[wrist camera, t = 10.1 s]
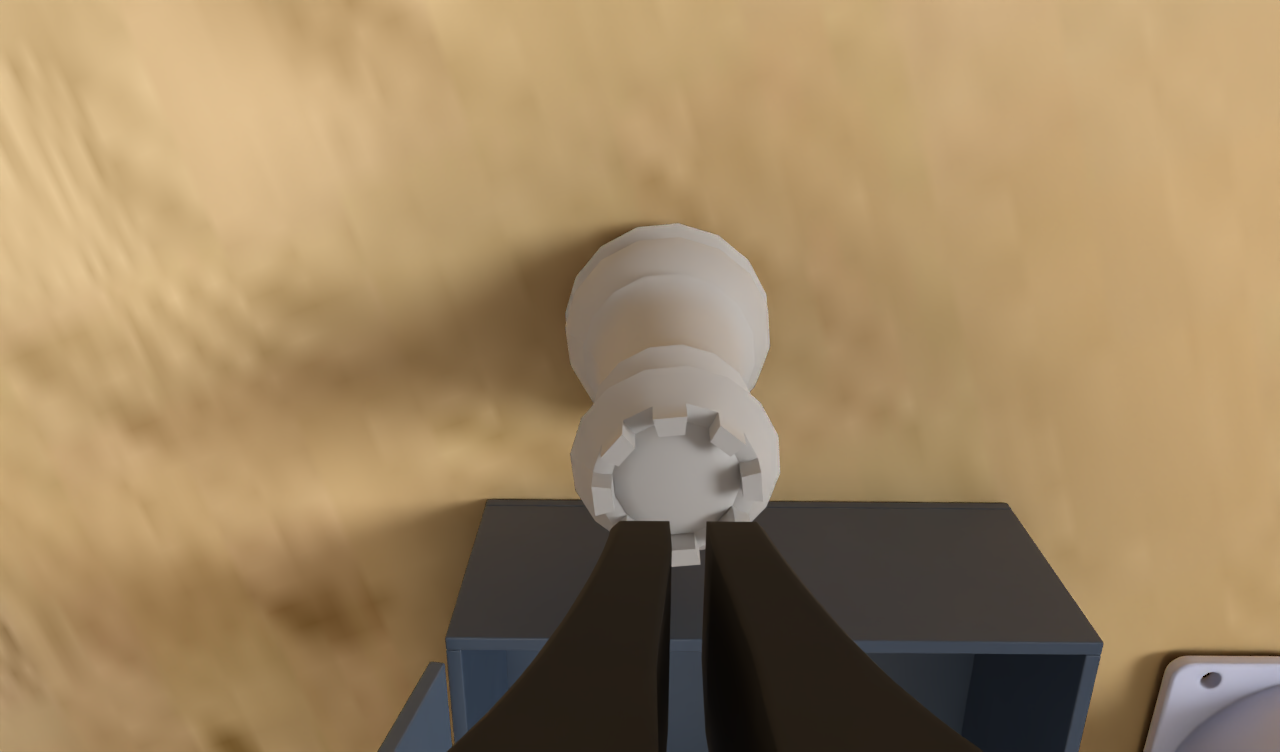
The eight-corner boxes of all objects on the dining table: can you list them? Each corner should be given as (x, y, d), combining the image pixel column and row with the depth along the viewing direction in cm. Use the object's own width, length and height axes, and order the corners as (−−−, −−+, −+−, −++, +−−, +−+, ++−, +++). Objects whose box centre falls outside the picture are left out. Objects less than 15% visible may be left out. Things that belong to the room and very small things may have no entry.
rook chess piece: (560, 398, 22) (516, 607, 15) (574, 207, 20) (533, 337, 13) (751, 415, 22) (803, 632, 15) (781, 228, 21) (856, 367, 13)
